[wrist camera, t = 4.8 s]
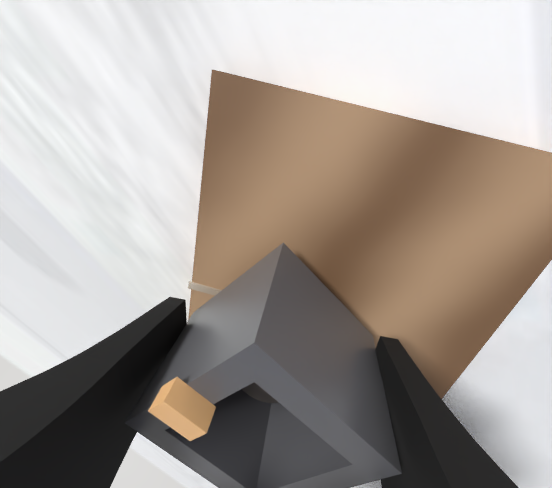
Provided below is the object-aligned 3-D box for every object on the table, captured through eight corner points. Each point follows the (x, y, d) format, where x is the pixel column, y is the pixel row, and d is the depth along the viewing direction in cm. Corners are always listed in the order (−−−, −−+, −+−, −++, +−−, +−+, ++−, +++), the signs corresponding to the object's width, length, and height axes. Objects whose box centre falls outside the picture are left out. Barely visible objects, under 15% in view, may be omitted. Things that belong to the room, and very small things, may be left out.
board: (592, 163, 9) (812, 213, 5) (420, 398, 14) (457, 511, 10) (219, 71, 9) (141, 48, 5) (192, 334, 15) (143, 419, 11)
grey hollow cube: (372, 335, 11) (408, 505, 6) (277, 384, 13) (250, 539, 8) (277, 236, 9) (234, 358, 5) (187, 307, 11) (99, 440, 7)
